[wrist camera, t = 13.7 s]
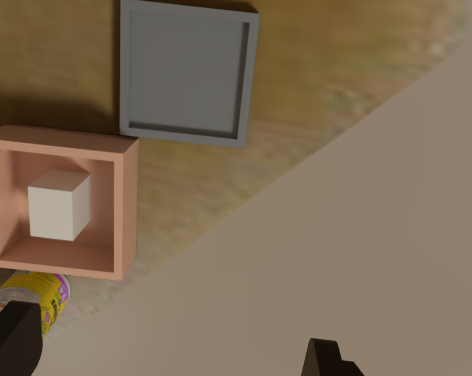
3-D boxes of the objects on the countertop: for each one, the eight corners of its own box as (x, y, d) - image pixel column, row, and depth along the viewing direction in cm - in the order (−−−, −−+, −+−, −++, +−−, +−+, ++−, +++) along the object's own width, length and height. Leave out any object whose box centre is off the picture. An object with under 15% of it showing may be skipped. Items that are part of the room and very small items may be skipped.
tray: (125, -1, 38) (120, -2, 37) (259, 14, 38) (260, 13, 37) (123, 131, 43) (119, 134, 41) (245, 144, 43) (244, 148, 41)
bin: (8, 123, 43) (-26, 137, 38) (138, 137, 43) (123, 153, 38) (18, 239, 47) (-11, 266, 42) (136, 252, 48) (122, 280, 42)
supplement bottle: (61, 317, 51) (2, 408, 39) (7, 294, 50) (-70, 379, 38) (81, 275, 49) (25, 357, 37) (25, 249, 48) (-51, 325, 36)
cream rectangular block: (51, 168, 43) (27, 186, 39) (91, 173, 44) (72, 192, 39) (53, 213, 45) (30, 235, 41) (91, 218, 45) (73, 241, 41)
